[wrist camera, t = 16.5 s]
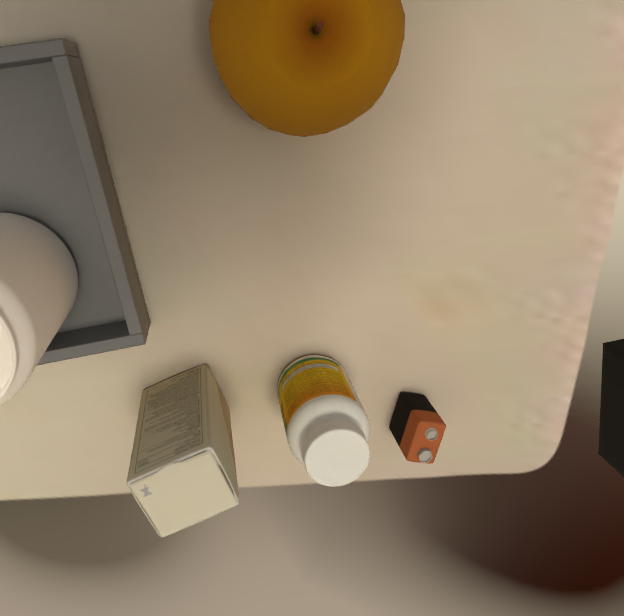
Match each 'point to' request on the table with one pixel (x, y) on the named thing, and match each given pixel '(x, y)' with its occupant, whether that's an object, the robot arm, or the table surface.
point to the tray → (68, 193)
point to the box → (183, 452)
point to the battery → (417, 428)
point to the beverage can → (30, 296)
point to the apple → (306, 58)
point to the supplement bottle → (324, 420)
